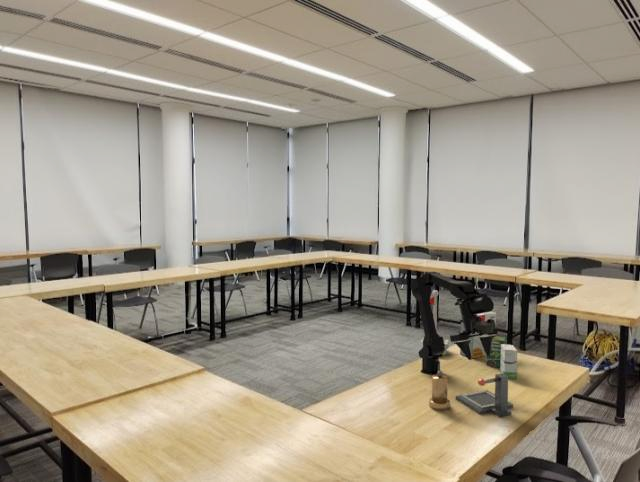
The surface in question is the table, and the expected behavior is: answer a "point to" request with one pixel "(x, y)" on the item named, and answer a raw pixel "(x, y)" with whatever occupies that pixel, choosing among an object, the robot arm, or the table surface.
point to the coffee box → (495, 352)
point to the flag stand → (434, 302)
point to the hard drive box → (478, 337)
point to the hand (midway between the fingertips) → (479, 357)
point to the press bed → (489, 398)
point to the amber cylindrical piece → (439, 393)
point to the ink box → (508, 361)
